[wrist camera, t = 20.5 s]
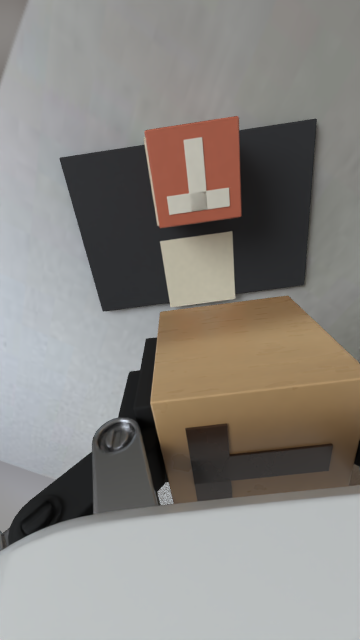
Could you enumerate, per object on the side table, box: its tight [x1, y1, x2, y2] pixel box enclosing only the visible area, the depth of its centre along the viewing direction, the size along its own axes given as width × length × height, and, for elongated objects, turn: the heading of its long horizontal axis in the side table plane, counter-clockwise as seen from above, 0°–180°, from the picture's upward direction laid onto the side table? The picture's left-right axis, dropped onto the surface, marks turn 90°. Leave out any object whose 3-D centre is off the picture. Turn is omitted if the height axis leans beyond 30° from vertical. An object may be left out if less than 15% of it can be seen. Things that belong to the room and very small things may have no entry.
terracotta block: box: [145, 116, 241, 228], centre depth 17 cm, size 5×5×5 cm
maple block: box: [150, 296, 360, 504], centre depth 9 cm, size 5×5×5 cm
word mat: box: [60, 119, 317, 311], centre depth 22 cm, size 18×13×1 cm
